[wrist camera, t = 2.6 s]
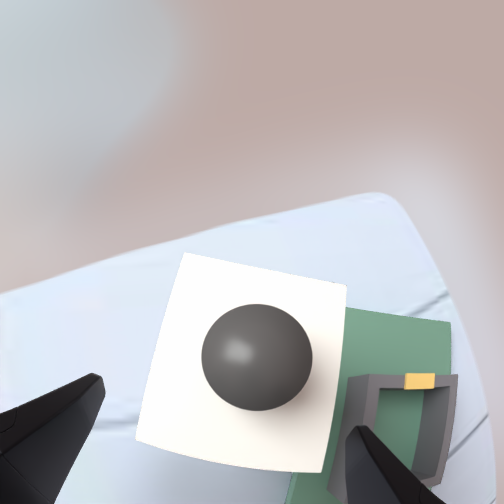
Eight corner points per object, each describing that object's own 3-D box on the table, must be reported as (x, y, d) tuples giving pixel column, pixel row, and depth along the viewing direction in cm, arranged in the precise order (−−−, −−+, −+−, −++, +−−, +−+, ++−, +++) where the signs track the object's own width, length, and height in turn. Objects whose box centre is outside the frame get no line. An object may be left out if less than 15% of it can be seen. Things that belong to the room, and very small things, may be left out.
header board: (412, 516, 10) (443, 528, 7) (275, 534, 11) (287, 564, 7) (441, 326, 19) (475, 310, 15) (319, 308, 19) (342, 286, 15)
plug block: (261, 420, 15) (355, 498, 3) (194, 407, 15) (99, 455, 3) (274, 349, 18) (381, 250, 5) (210, 336, 18) (172, 206, 5)
